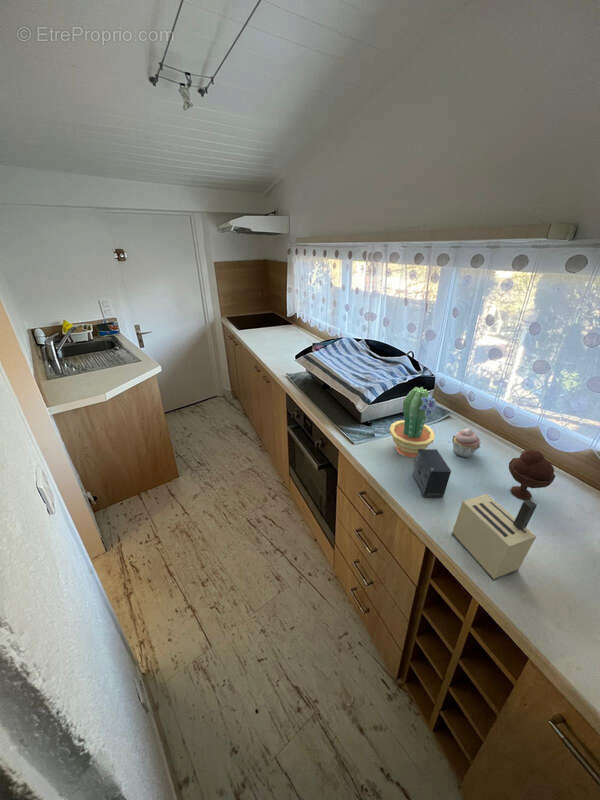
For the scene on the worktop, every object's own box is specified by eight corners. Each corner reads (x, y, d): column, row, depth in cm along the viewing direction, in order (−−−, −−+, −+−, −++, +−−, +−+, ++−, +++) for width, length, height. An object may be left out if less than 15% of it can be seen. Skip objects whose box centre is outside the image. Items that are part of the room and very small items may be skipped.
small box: (445, 498, 91) (453, 471, 86) (423, 498, 91) (430, 471, 86) (431, 473, 100) (437, 448, 95) (411, 474, 100) (417, 448, 95)
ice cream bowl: (494, 493, 92) (510, 453, 85) (507, 475, 99) (523, 438, 92) (535, 513, 85) (556, 472, 78) (546, 493, 92) (567, 454, 85)
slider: (519, 522, 68) (530, 499, 65) (526, 527, 67) (537, 505, 64) (512, 524, 68) (523, 501, 65) (519, 530, 67) (530, 507, 63)
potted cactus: (389, 461, 106) (399, 398, 94) (384, 435, 120) (393, 377, 108) (435, 465, 104) (452, 400, 92) (425, 438, 118) (439, 379, 106)
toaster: (474, 526, 82) (486, 493, 76) (518, 570, 71) (536, 536, 65) (451, 534, 80) (462, 500, 74) (493, 580, 69) (509, 546, 63)
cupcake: (480, 462, 105) (488, 438, 100) (451, 458, 107) (457, 434, 102) (474, 446, 113) (481, 423, 108) (447, 442, 115) (453, 420, 110)
